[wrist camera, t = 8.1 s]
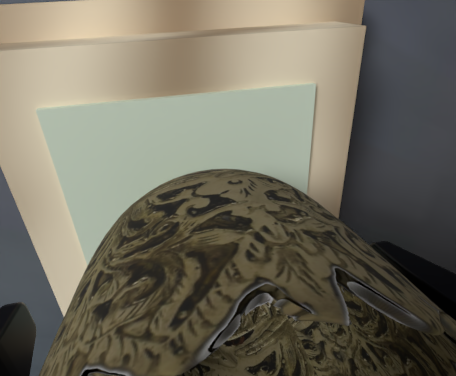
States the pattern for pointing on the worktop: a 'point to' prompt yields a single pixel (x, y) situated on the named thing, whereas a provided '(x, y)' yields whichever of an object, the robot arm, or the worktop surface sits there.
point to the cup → (244, 292)
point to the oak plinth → (167, 106)
